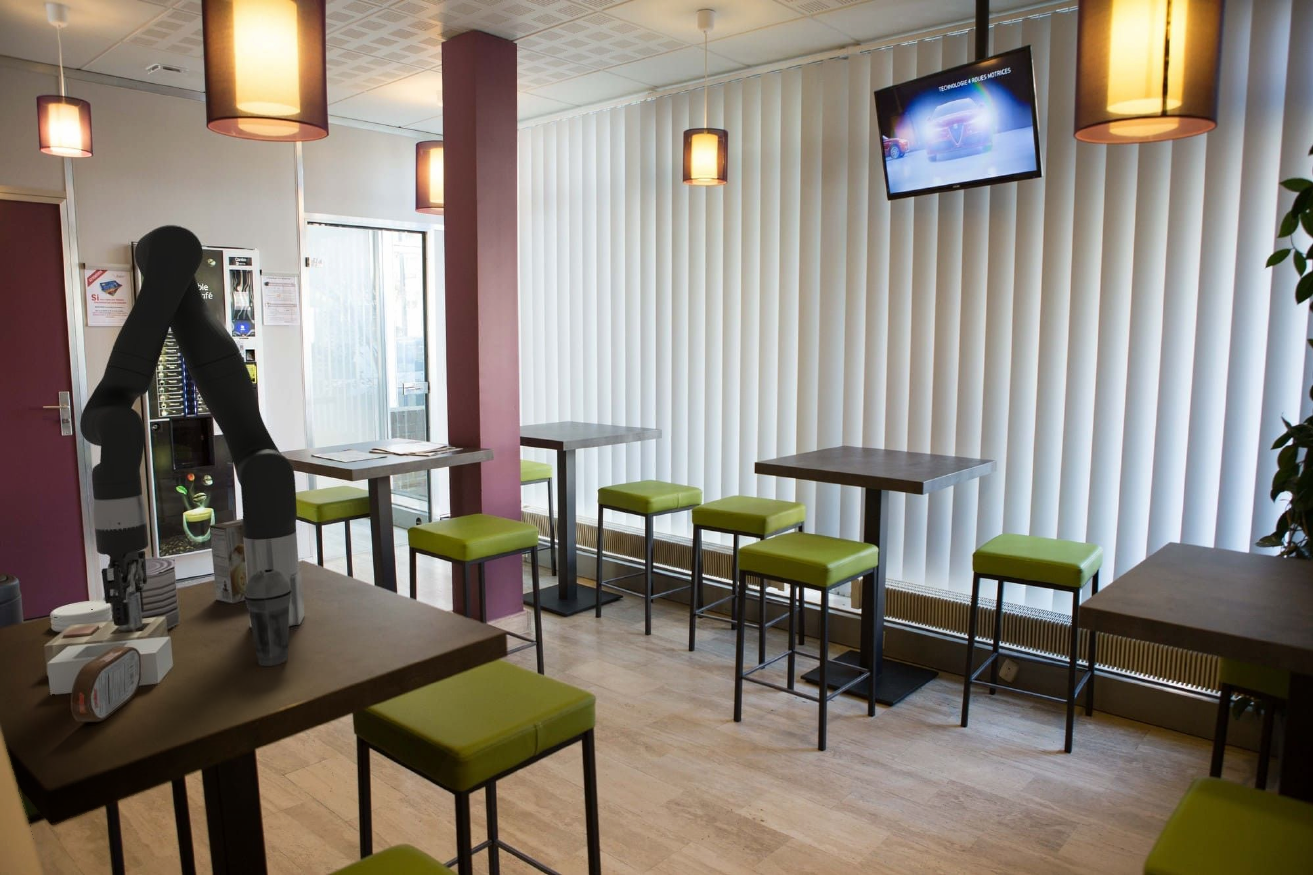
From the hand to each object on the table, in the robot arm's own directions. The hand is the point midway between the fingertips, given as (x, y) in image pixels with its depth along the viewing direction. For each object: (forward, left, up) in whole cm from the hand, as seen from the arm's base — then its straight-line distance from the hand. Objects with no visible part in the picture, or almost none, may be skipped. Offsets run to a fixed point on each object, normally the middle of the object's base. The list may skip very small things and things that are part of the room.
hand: (129, 618), depth 150 cm
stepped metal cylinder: (0, 0, -7) cm, 7 cm away
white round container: (+16, -24, -7) cm, 30 cm away
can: (+3, -18, -7) cm, 20 cm away
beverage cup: (-24, +10, -7) cm, 27 cm away
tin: (-4, +24, -7) cm, 26 cm away
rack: (-1, +11, -7) cm, 13 cm away
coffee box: (-11, -34, -7) cm, 36 cm away
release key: (+7, 0, -6) cm, 9 cm away
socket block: (+3, 0, -7) cm, 8 cm away
